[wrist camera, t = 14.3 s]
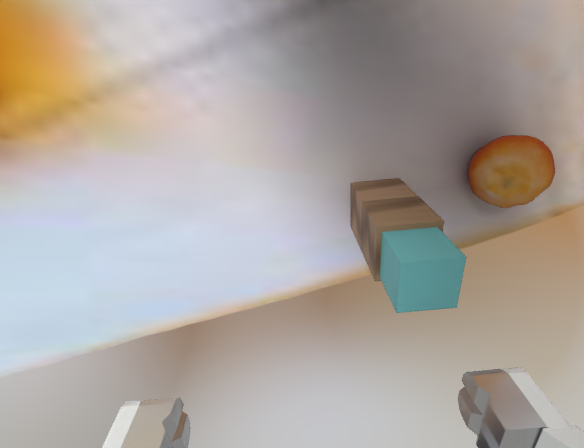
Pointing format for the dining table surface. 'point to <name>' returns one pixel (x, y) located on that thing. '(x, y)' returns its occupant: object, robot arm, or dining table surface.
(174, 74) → the dining table surface
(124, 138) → the dining table surface
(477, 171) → the fruit
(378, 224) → the tower top
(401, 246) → the teal block
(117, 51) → the dining table surface
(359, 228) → the block
